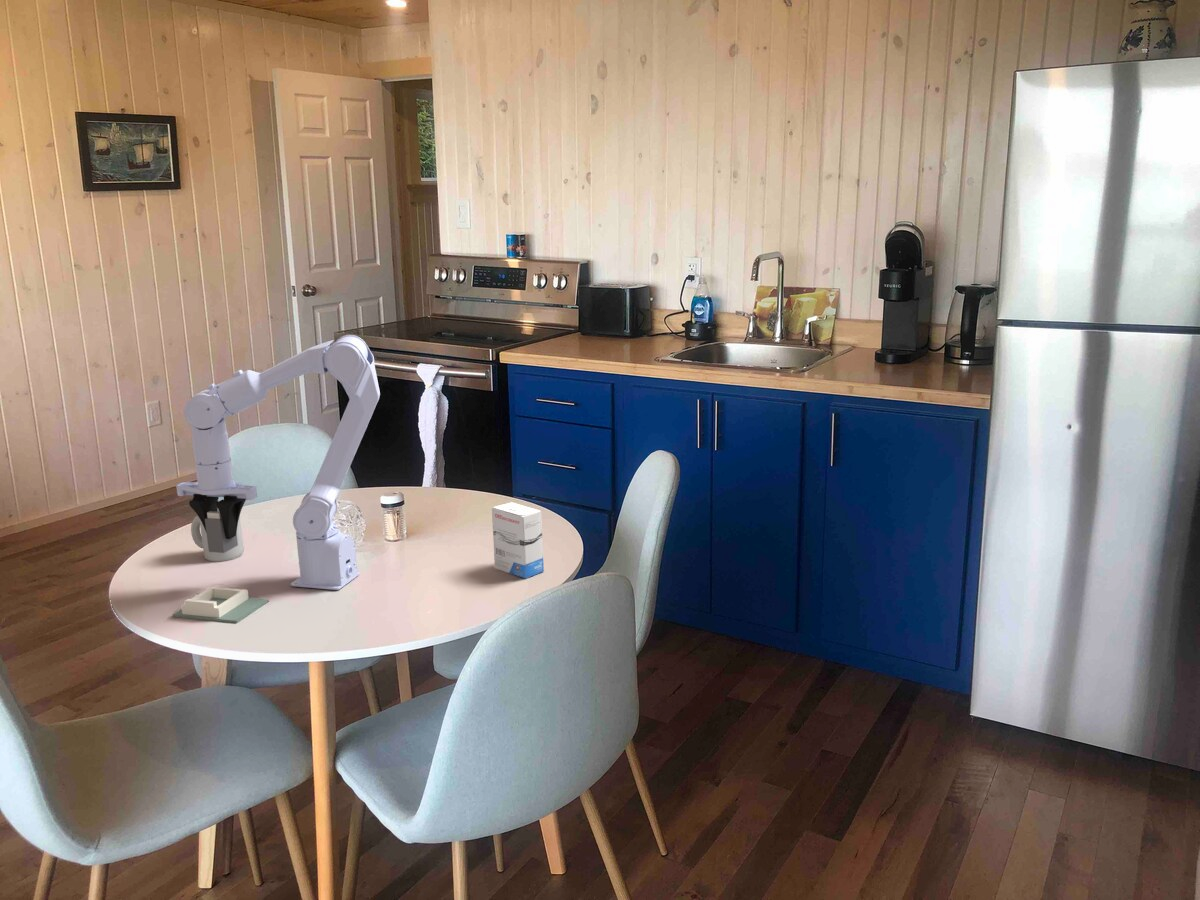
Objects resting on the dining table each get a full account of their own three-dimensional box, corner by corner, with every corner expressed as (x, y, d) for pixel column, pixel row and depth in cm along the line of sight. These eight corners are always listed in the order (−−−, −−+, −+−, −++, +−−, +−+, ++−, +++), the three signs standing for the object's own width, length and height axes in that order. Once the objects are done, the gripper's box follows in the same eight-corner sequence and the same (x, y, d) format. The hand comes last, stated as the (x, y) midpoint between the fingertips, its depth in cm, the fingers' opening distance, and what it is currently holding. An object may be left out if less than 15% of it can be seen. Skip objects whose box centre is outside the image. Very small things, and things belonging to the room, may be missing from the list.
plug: (237, 545, 171) (233, 507, 169) (224, 553, 167) (219, 514, 165) (223, 544, 172) (218, 506, 170) (208, 551, 168) (204, 513, 166)
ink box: (545, 571, 175) (543, 509, 172) (525, 579, 172) (522, 516, 169) (513, 561, 181) (511, 500, 178) (493, 568, 177) (490, 506, 174)
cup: (230, 563, 183) (225, 518, 181) (183, 560, 185) (177, 515, 183) (251, 550, 190) (246, 506, 187) (205, 547, 192) (200, 504, 189)
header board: (268, 601, 164) (267, 585, 163) (236, 623, 156) (234, 606, 155) (207, 595, 167) (205, 580, 166) (172, 616, 159) (170, 600, 158)
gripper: (263, 457, 167) (272, 531, 171) (191, 453, 171) (200, 526, 174) (239, 467, 161) (248, 544, 164) (164, 463, 164) (174, 539, 168)
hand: (222, 536), depth 169 cm, fingers closed on plug, 3 cm apart
